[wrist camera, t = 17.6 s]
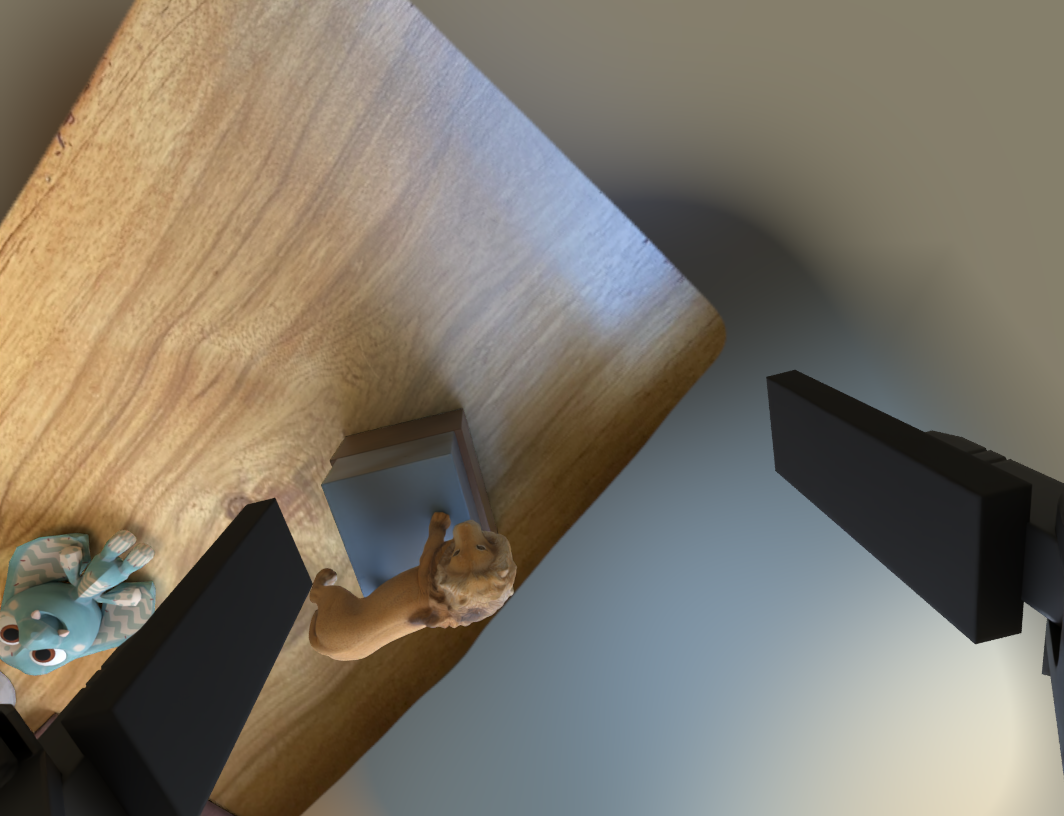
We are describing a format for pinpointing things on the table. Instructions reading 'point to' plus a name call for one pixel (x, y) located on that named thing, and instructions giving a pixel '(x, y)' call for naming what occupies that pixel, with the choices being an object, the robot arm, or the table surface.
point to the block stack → (403, 492)
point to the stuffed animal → (71, 600)
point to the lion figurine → (416, 593)
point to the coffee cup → (6, 691)
